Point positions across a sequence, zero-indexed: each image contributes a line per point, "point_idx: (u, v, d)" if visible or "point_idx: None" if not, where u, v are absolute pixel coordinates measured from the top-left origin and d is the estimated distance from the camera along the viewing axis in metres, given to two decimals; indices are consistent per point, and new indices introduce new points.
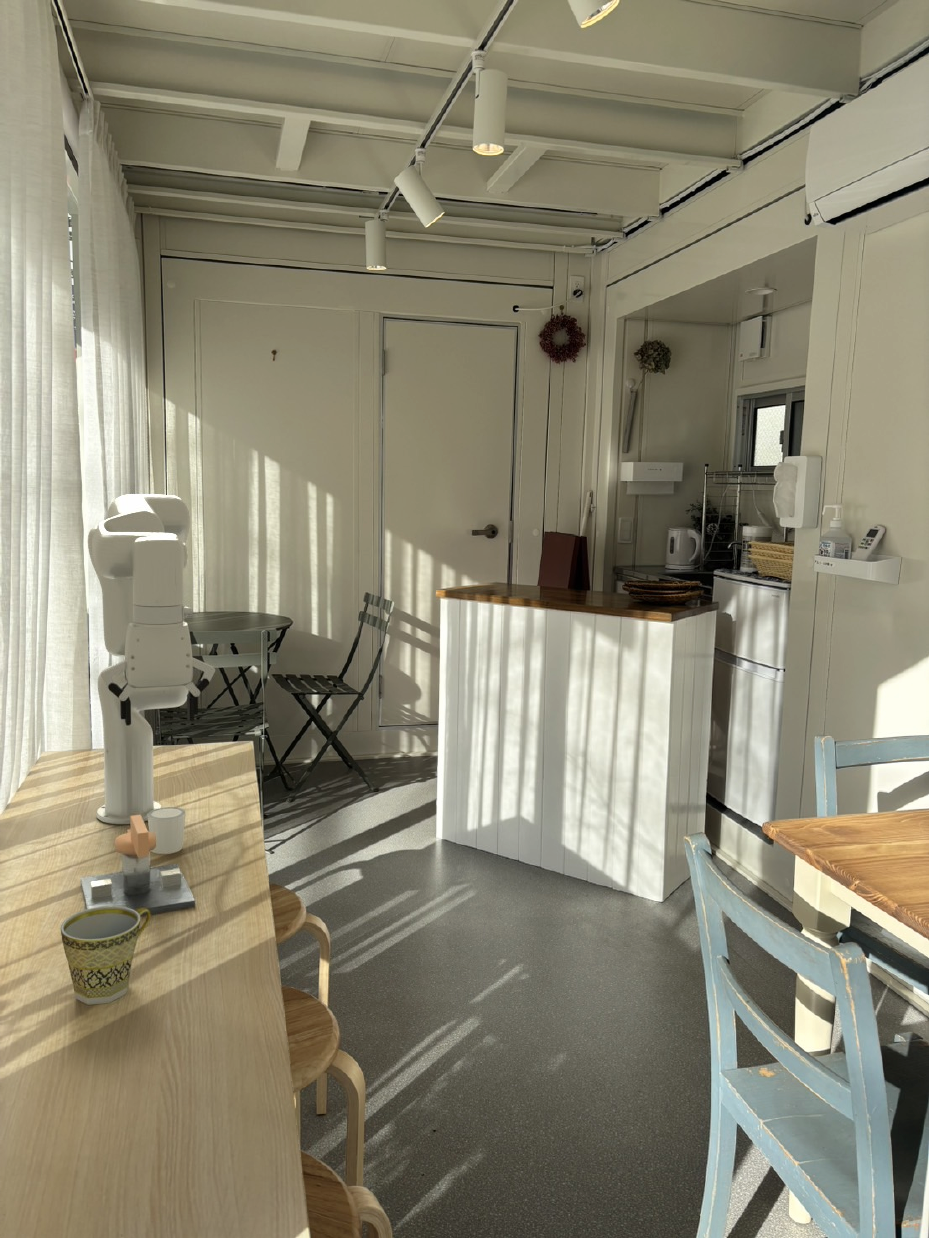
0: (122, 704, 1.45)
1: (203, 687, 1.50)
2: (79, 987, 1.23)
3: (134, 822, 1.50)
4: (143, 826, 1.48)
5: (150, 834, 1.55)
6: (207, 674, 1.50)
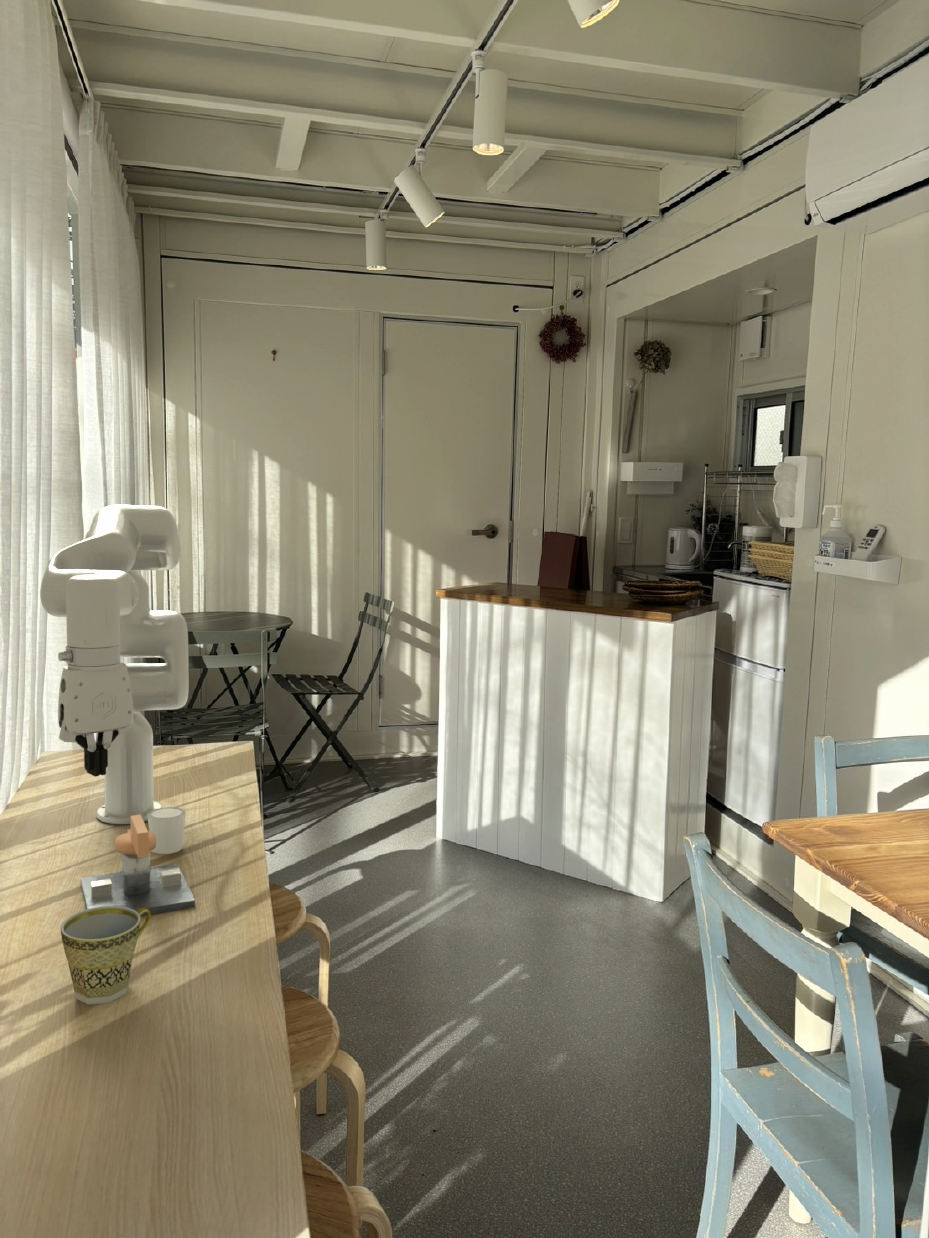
0: None
1: None
2: (79, 987, 1.23)
3: (134, 822, 1.50)
4: (143, 826, 1.48)
5: (150, 834, 1.55)
6: None
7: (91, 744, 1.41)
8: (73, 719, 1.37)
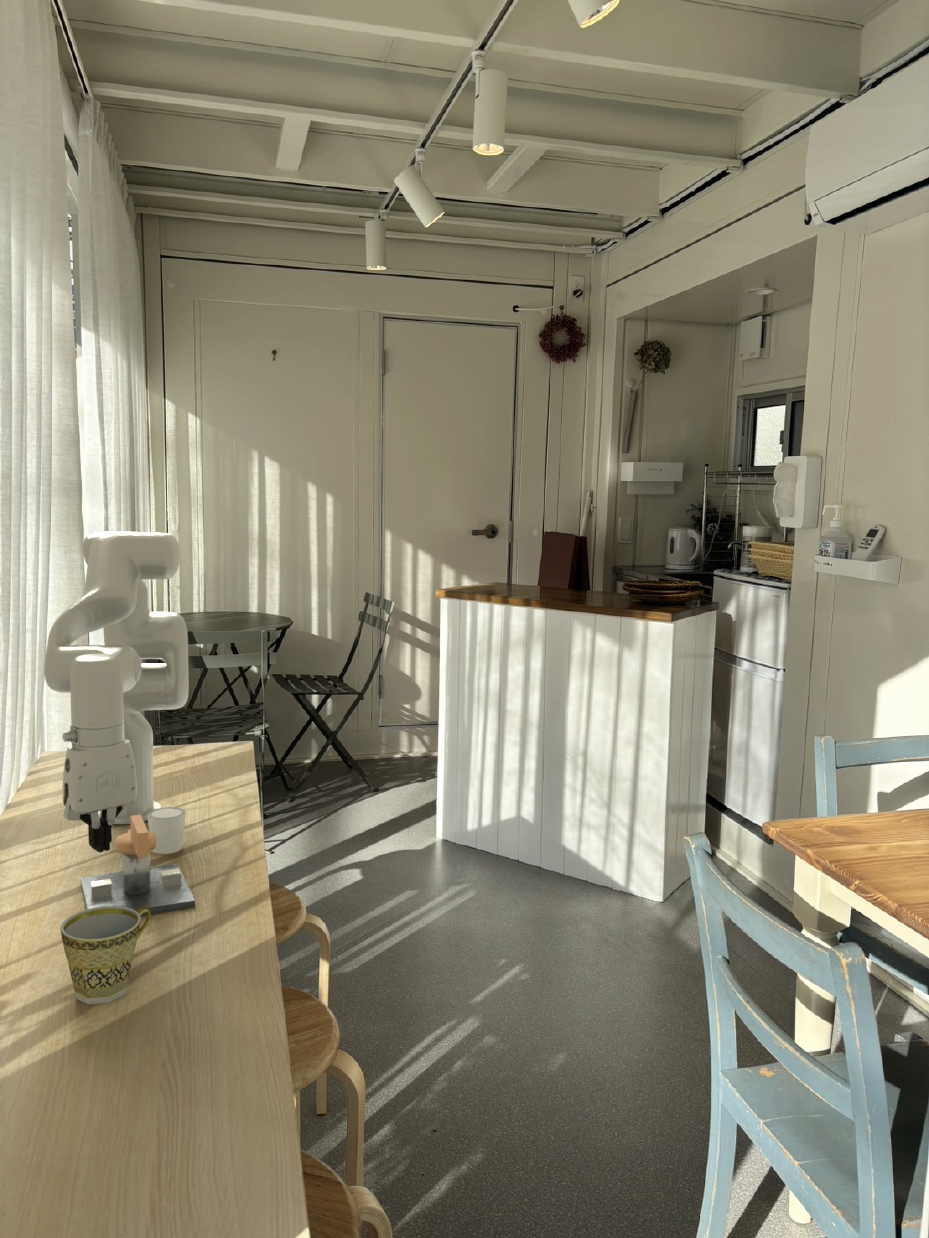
0: None
1: None
2: (79, 987, 1.23)
3: (134, 822, 1.50)
4: (143, 826, 1.48)
5: (150, 834, 1.55)
6: None
7: (95, 821, 1.42)
8: (77, 799, 1.38)
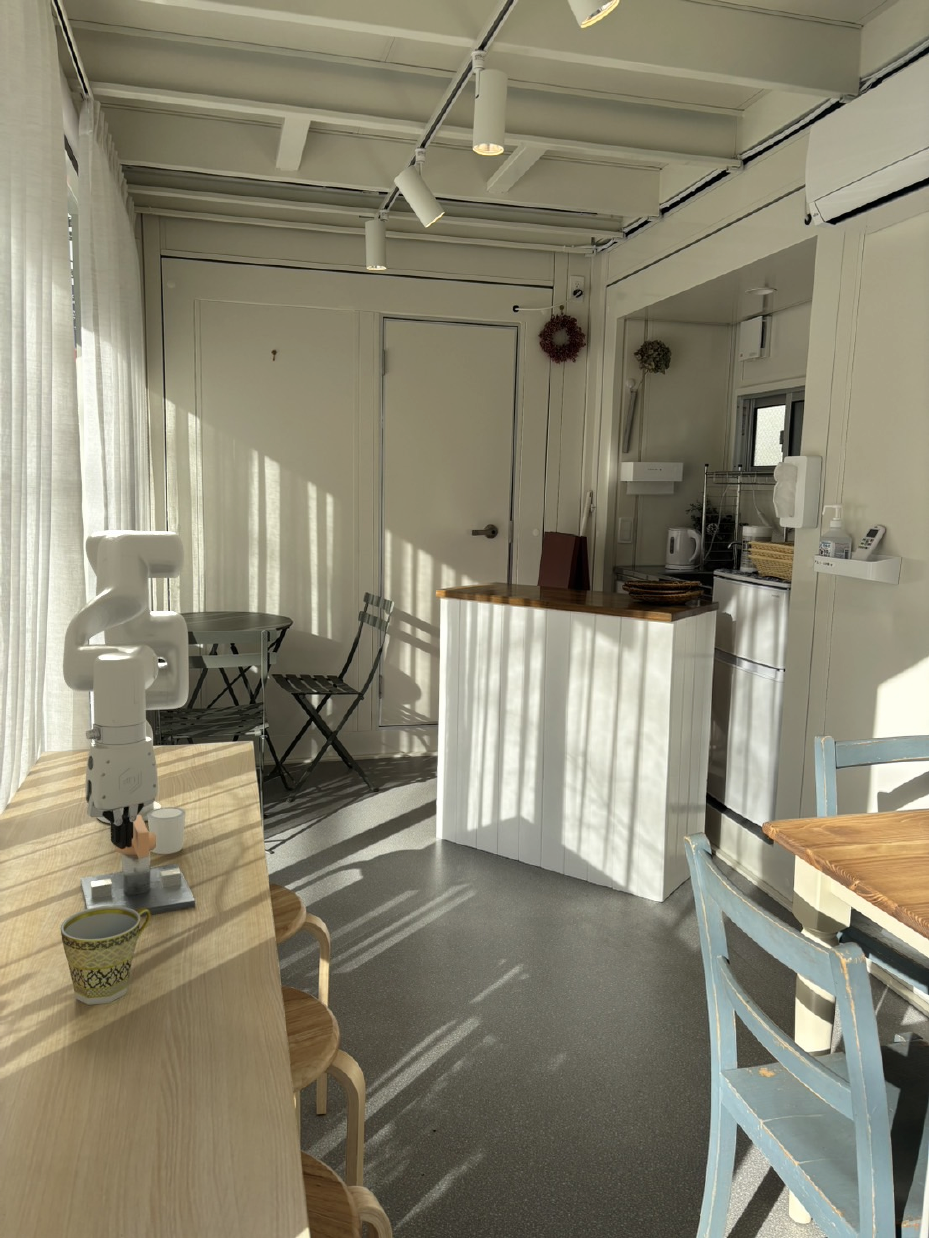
0: None
1: None
2: (79, 987, 1.23)
3: (134, 822, 1.50)
4: (143, 826, 1.48)
5: (150, 834, 1.55)
6: None
7: (117, 818, 1.44)
8: (100, 796, 1.40)
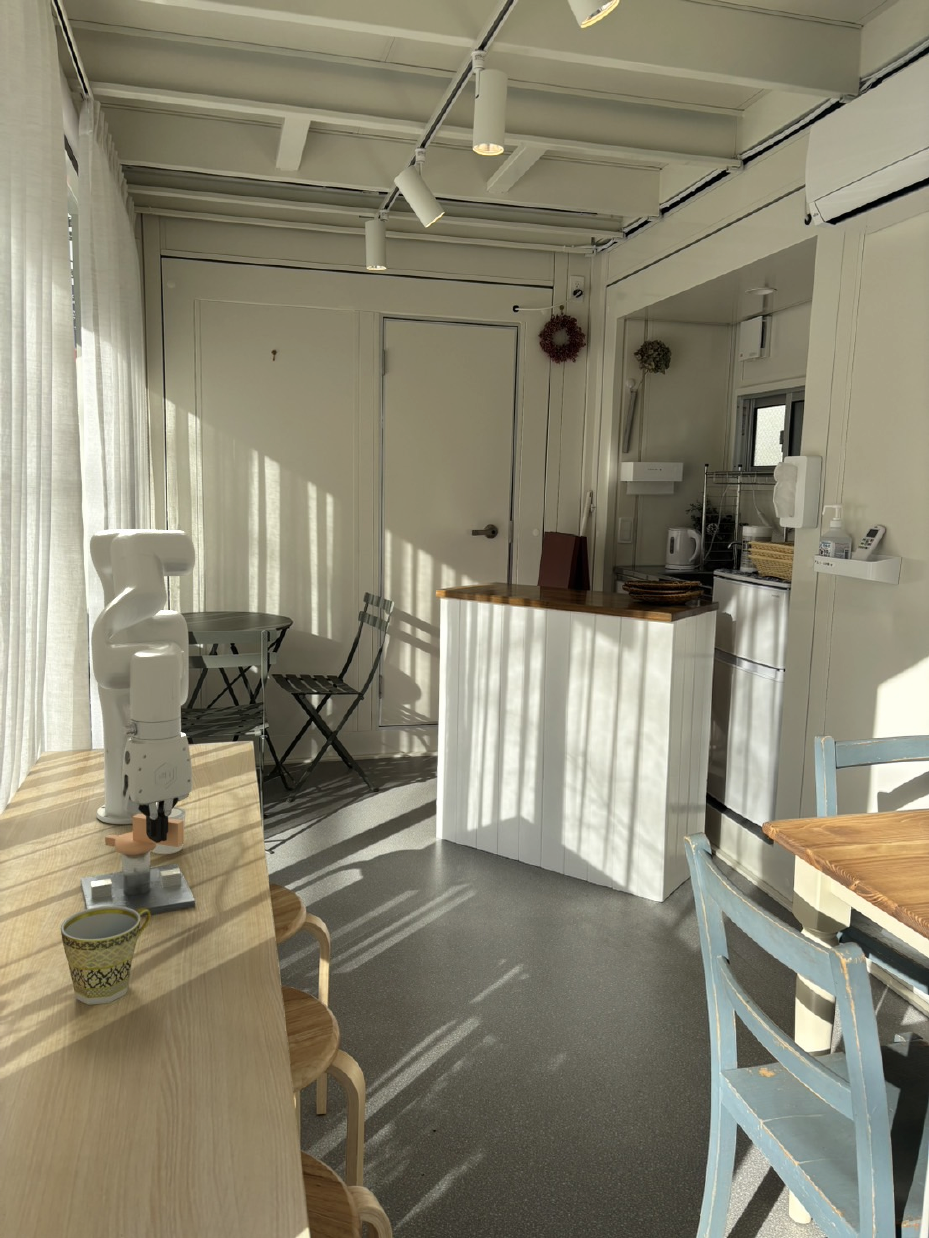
0: None
1: None
2: (79, 987, 1.23)
3: None
4: None
5: None
6: None
7: (153, 812, 1.46)
8: (137, 790, 1.43)
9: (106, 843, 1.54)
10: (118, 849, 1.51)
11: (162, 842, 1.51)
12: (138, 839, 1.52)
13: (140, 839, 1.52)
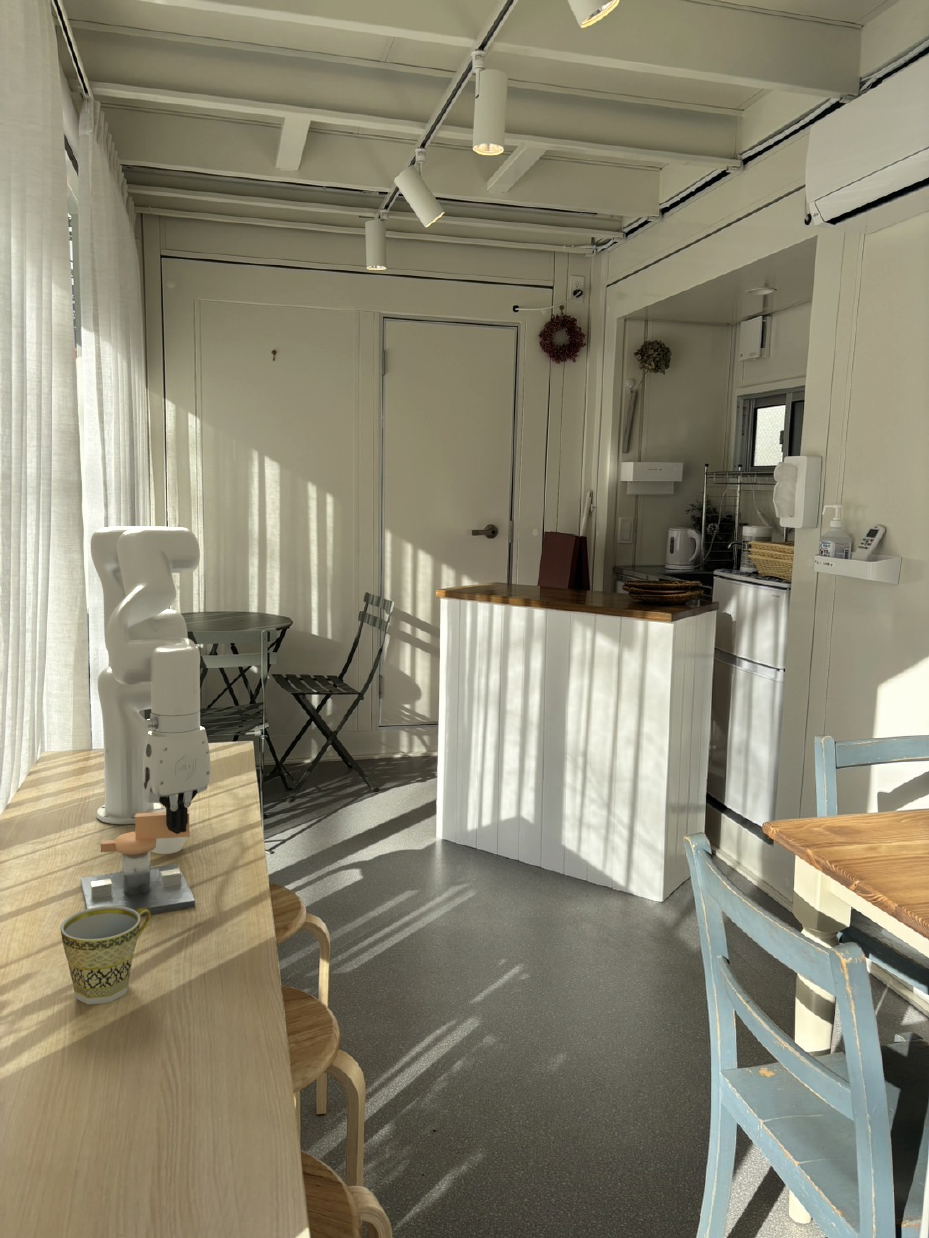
0: None
1: None
2: (79, 987, 1.23)
3: (156, 815, 1.53)
4: None
5: (131, 833, 1.56)
6: None
7: (173, 804, 1.50)
8: (158, 782, 1.46)
9: (102, 850, 1.52)
10: (127, 851, 1.50)
11: (171, 835, 1.54)
12: (142, 838, 1.53)
13: (144, 837, 1.53)
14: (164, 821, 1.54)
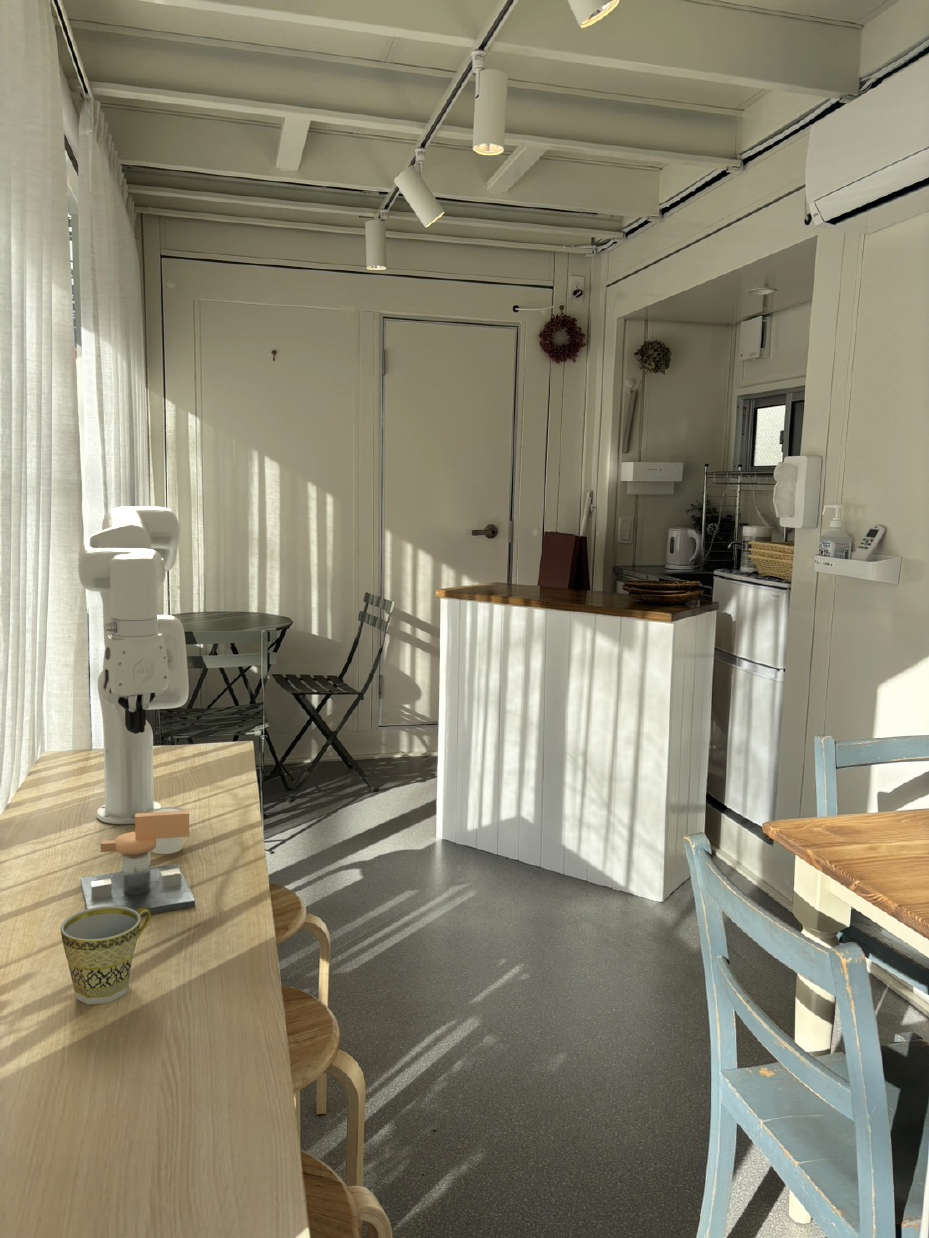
0: None
1: None
2: (79, 987, 1.23)
3: (156, 815, 1.53)
4: (171, 812, 1.55)
5: (131, 833, 1.56)
6: None
7: (132, 705, 1.58)
8: (117, 683, 1.54)
9: (102, 850, 1.52)
10: (127, 851, 1.50)
11: (171, 835, 1.54)
12: (142, 838, 1.53)
13: (144, 837, 1.53)
14: (164, 821, 1.54)
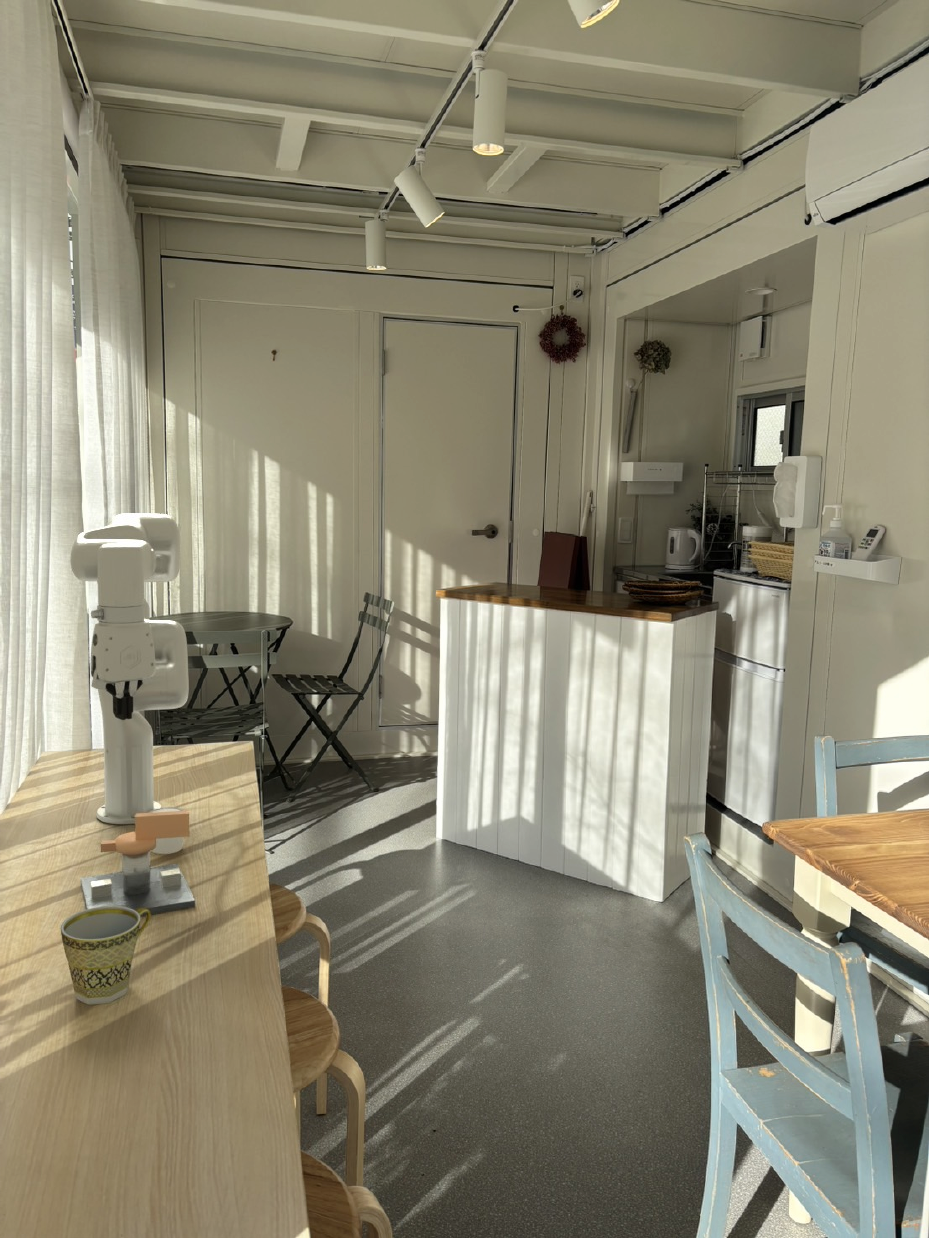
0: None
1: (107, 689, 1.62)
2: (79, 987, 1.23)
3: (156, 815, 1.53)
4: (171, 812, 1.55)
5: (131, 833, 1.56)
6: None
7: (119, 691, 1.61)
8: (104, 669, 1.57)
9: (102, 850, 1.52)
10: (127, 851, 1.50)
11: (171, 835, 1.54)
12: (142, 838, 1.53)
13: (144, 837, 1.53)
14: (164, 821, 1.54)
